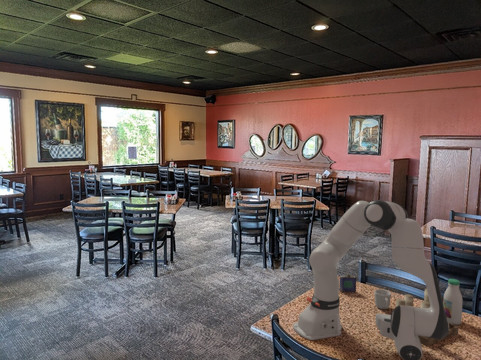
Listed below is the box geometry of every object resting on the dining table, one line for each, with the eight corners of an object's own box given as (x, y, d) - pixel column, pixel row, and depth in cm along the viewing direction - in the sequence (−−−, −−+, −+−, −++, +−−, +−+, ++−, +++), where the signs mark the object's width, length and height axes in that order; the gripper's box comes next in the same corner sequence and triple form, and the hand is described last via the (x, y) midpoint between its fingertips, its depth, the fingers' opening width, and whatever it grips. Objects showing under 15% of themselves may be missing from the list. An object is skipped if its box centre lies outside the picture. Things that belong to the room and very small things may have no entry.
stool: (426, 346, 143) (428, 309, 141) (394, 328, 157) (395, 294, 156) (458, 333, 153) (460, 298, 151) (424, 317, 167) (426, 285, 165)
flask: (339, 292, 197) (340, 273, 196) (338, 290, 199) (339, 272, 199) (356, 292, 196) (357, 274, 195) (355, 290, 198) (355, 272, 198)
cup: (395, 313, 171) (396, 298, 170) (379, 313, 171) (380, 297, 171) (386, 303, 182) (387, 289, 181) (371, 303, 182) (372, 288, 181)
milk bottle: (458, 318, 166) (461, 278, 164) (463, 326, 159) (465, 284, 157) (440, 316, 168) (442, 276, 167) (444, 323, 161) (446, 282, 159)
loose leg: (399, 339, 146) (401, 303, 145) (392, 335, 149) (394, 299, 148) (405, 337, 148) (407, 301, 146) (398, 333, 151) (400, 298, 149)
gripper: (434, 328, 132) (427, 311, 145) (377, 319, 138) (375, 304, 151) (433, 343, 133) (426, 326, 146) (376, 334, 139) (374, 318, 152)
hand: (399, 315), depth 149 cm, fingers closed on loose leg, 4 cm apart
